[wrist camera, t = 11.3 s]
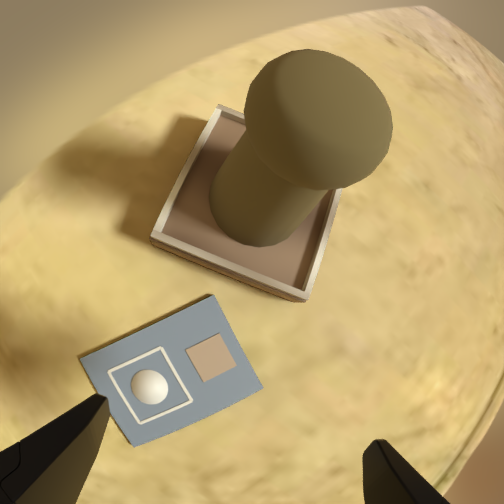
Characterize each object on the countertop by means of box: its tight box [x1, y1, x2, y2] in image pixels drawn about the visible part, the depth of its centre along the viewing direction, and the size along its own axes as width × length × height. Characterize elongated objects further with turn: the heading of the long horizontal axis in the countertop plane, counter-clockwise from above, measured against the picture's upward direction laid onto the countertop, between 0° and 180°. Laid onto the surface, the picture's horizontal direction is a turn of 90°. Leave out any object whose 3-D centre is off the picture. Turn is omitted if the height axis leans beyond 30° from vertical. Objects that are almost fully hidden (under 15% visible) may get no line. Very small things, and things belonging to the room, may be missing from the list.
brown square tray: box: [149, 104, 342, 302], centre depth 19 cm, size 10×10×3 cm
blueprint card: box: [80, 295, 263, 447], centre depth 17 cm, size 10×7×1 cm
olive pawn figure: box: [209, 49, 393, 248], centre depth 13 cm, size 6×6×11 cm
